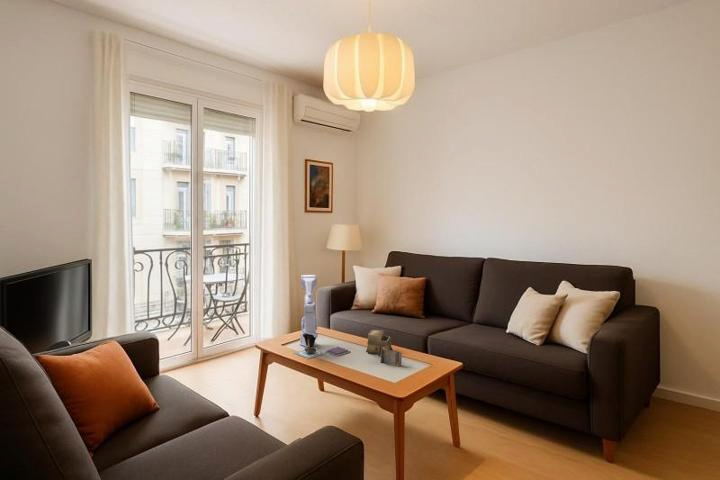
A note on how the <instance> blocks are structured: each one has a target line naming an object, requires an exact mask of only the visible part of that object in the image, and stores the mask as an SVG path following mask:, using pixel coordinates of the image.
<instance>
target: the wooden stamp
mask: <svg viewBox="0 0 720 480" xmlns="http://www.w3.org/2000/svg"><path fill="white" fill-rule="evenodd" d="M304 350H305V351H306V352H308V353H311V352H316V350H317V348H315V346H313V347H312V348H310V346H309V340H308V347H304Z"/></svg>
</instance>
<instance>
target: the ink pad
mask: <svg viewBox="0 0 720 480" xmlns="http://www.w3.org/2000/svg"><path fill="white" fill-rule="evenodd" d="M351 352H352V351H351V350H349V349H346V348H344V347H340V346H336V347H331V348H329V349H326V350H324V353H326V354H328V355H332V356H333V357H340V356H343V355H347V354H350V353H351Z"/></svg>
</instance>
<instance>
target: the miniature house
mask: <svg viewBox="0 0 720 480" xmlns="http://www.w3.org/2000/svg"><path fill="white" fill-rule="evenodd" d="M366 344H367V347H366V350H365V352H366V353H367V354H368V355H374V356H375V355H376V356H378V357H381V350H382V349H383V348H381V347H385V349H388V350H393V347H392V339H391V336H390V335H389V336H388V335H386V334H385V330H383V329H371V330H370V332H368V333H367V343H366ZM393 351H394V350H393Z"/></svg>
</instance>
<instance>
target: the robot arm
mask: <svg viewBox="0 0 720 480" xmlns="http://www.w3.org/2000/svg"><path fill="white" fill-rule="evenodd" d="M300 280H301V281H300V283H301V285H300V286H301V289H302V290H303V289H304V291H305V294H304V305H303V313H304V314H303V315H304V316H302V318H301V332H300V334H299V335H300V336H299V341H300V343H299V345H300V346H302V347H305V348H308V340H309V346H310V348H312V347H315V346H318V345H319V344H318V343H316V339H317V338H318V337H319V333H318V332H317V330H318V318H317V317H316V316H315V314H316V303H315V294H314V293H313V291H314V289H316V288H317V284H318V283H317V282H318V278H317V274H301V278H300Z"/></svg>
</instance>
